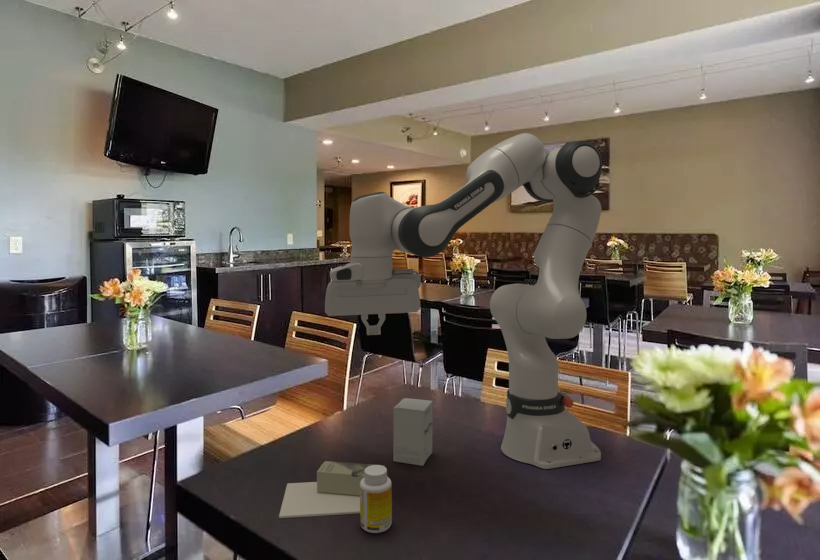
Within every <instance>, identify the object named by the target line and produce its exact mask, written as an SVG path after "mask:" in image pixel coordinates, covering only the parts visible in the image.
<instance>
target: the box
mask: <svg viewBox="0 0 820 560" xmlns="http://www.w3.org/2000/svg"><path fill="white" fill-rule="evenodd" d="M371 465H372V464H369V463H356V462H355V463H354V462H341V461H339V462H338V461H329V460H325V461H324V462H323V463H322V464H321V465H320V467H318V469H317V471H316V482H317V492H322V493H333V494H345V495H357V496H360V482H361V480H362V479H363V478H364V470H365V468H367V467H368V466H371ZM380 465H381V464H380ZM381 466H384V467H385V465H383V464H382V465H381Z"/></svg>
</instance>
